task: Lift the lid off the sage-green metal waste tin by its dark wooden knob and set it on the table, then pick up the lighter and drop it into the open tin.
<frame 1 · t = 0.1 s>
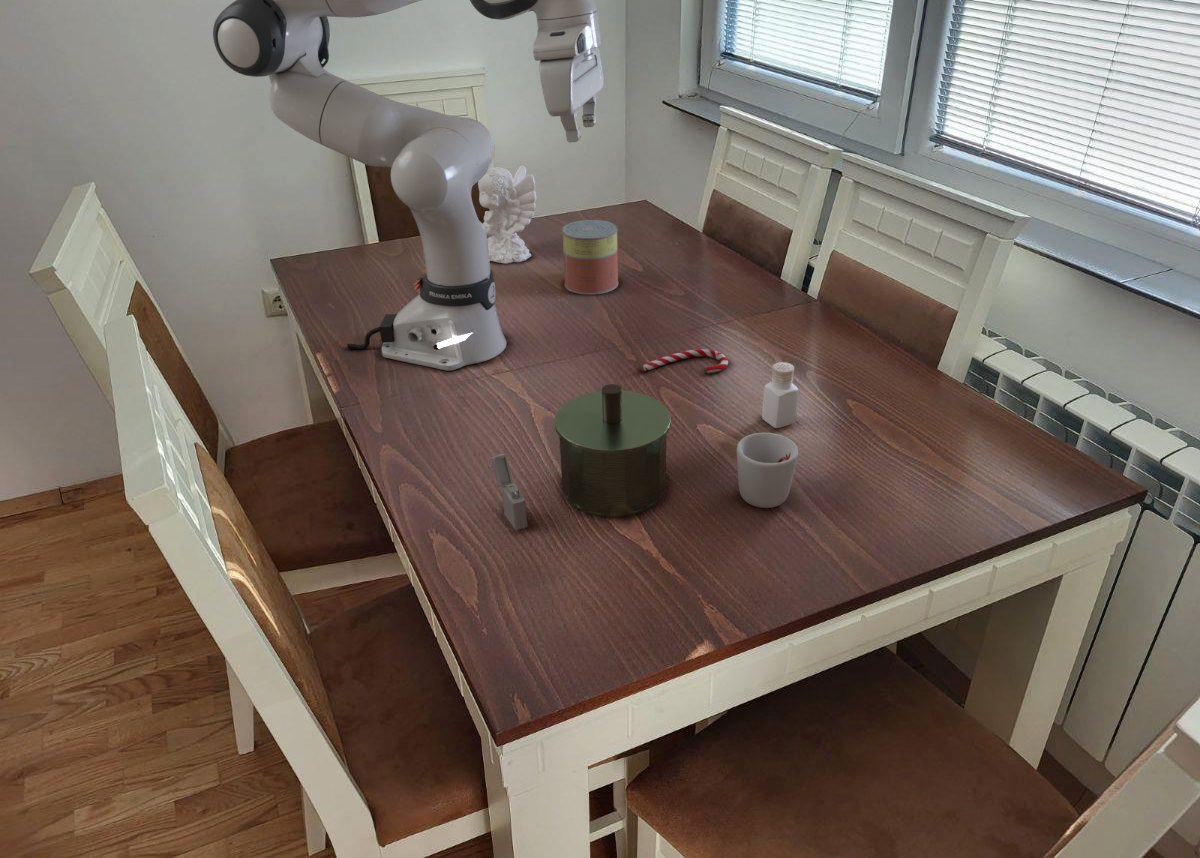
hand: (582, 133, 136), 39 cm above the table, tool pointing down, fingers open, 8 cm apart
tin: (613, 486, 124), on the table
lighter: (511, 515, 119), on the table
candy cane: (684, 368, 153), on the table
pepper shaker: (778, 422, 137), on the table
tin lid: (612, 422, 118), point 10 cm above the table, touching tin
canned food: (591, 284, 186), on the table
cherub figurine: (509, 254, 202), on the table
cup: (760, 492, 122), on the table
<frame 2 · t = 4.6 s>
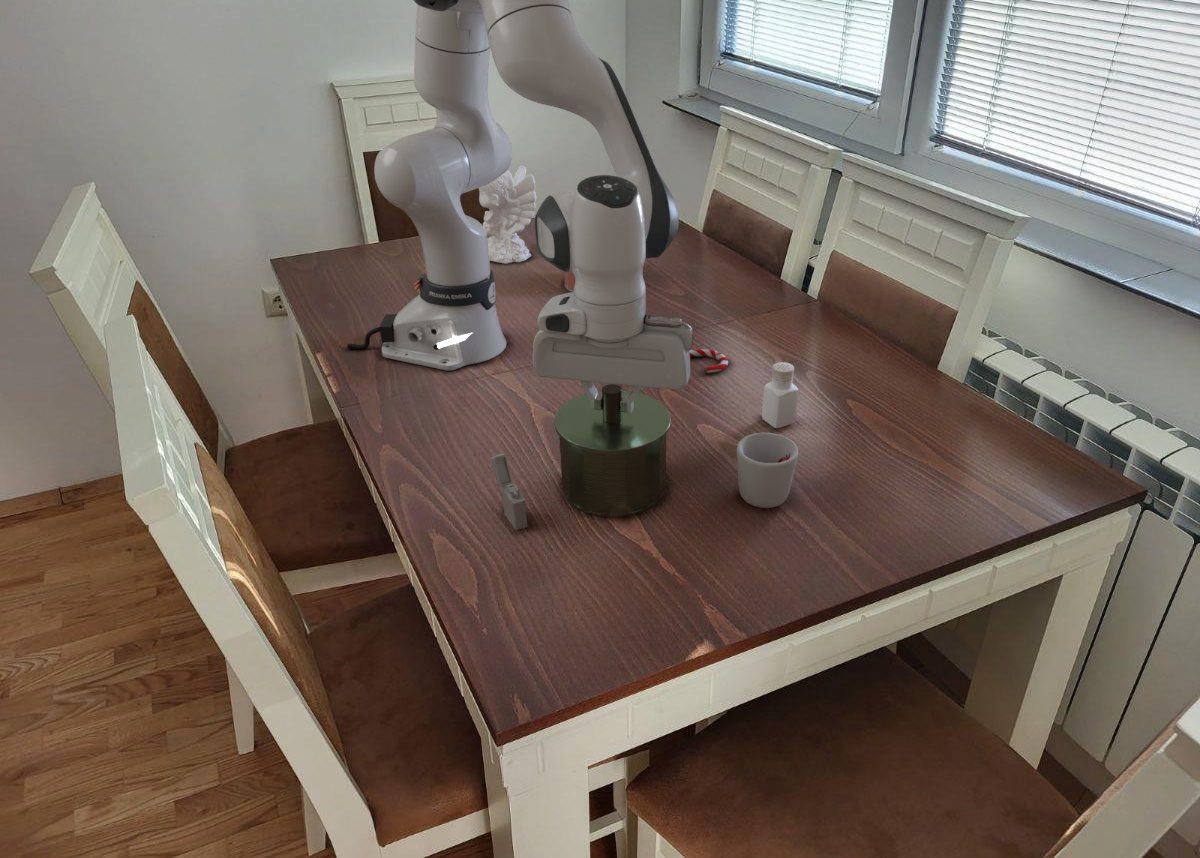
hand: (612, 409, 117), 13 cm above the table, tool pointing down, fingers closed on tin lid, 2 cm apart
tin lid: (612, 422, 118), point 11 cm above the table, touching gripper, tin
everything else where it was.
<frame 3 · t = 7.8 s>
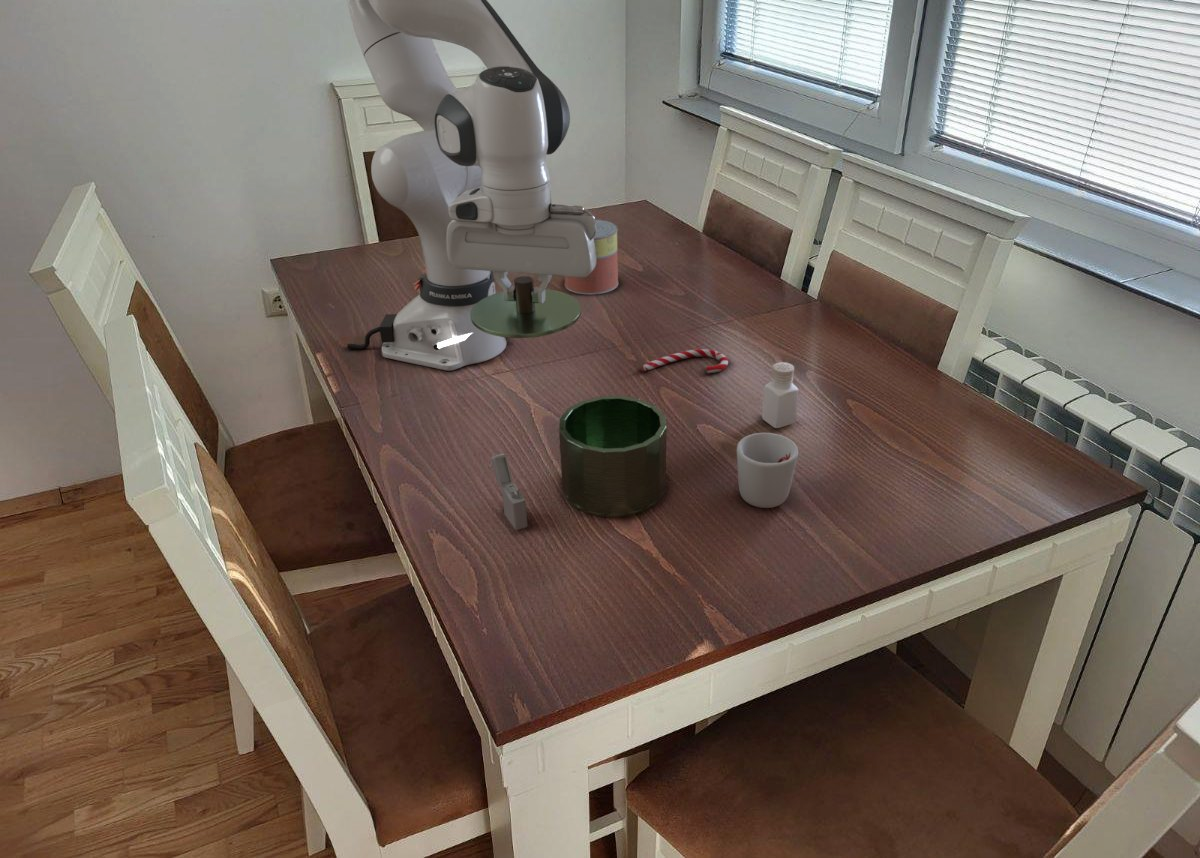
hand: (524, 300, 123), 23 cm above the table, tool pointing down, fingers closed on tin lid, 2 cm apart
tin lid: (526, 313, 124), point 21 cm above the table, touching gripper
everything else where it was.
when the fingers open (2 cm above the table, at t = 10.9 s): tin lid stays where it is, point 1 cm above the table.
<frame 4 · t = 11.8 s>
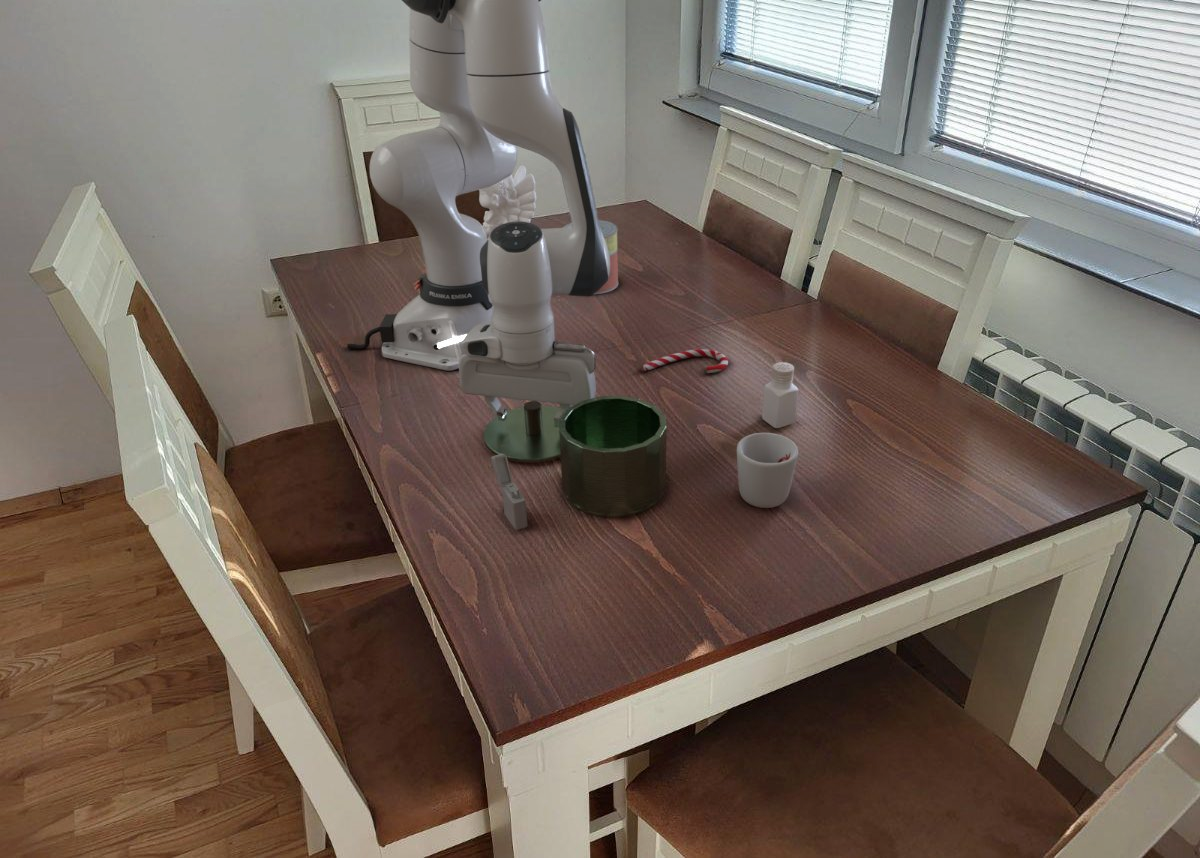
hand: (530, 422, 134), 3 cm above the table, tool pointing down, fingers open, 8 cm apart
tin lid: (534, 434, 135), point 1 cm above the table
everything else where it was.
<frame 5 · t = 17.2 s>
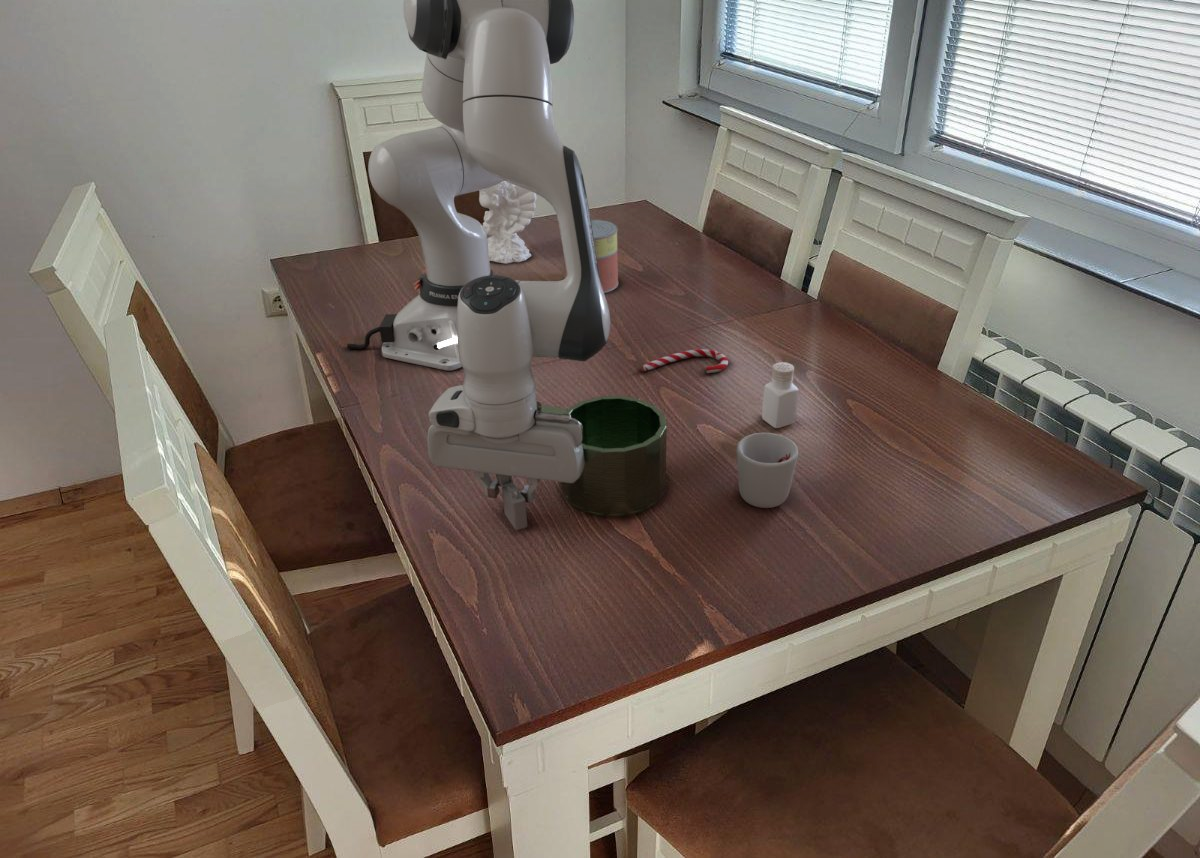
hand: (510, 497, 117), 3 cm above the table, tool pointing down, fingers closed on lighter, 4 cm apart
lighter: (511, 515, 119), on the table, touching gripper
everything else where it was.
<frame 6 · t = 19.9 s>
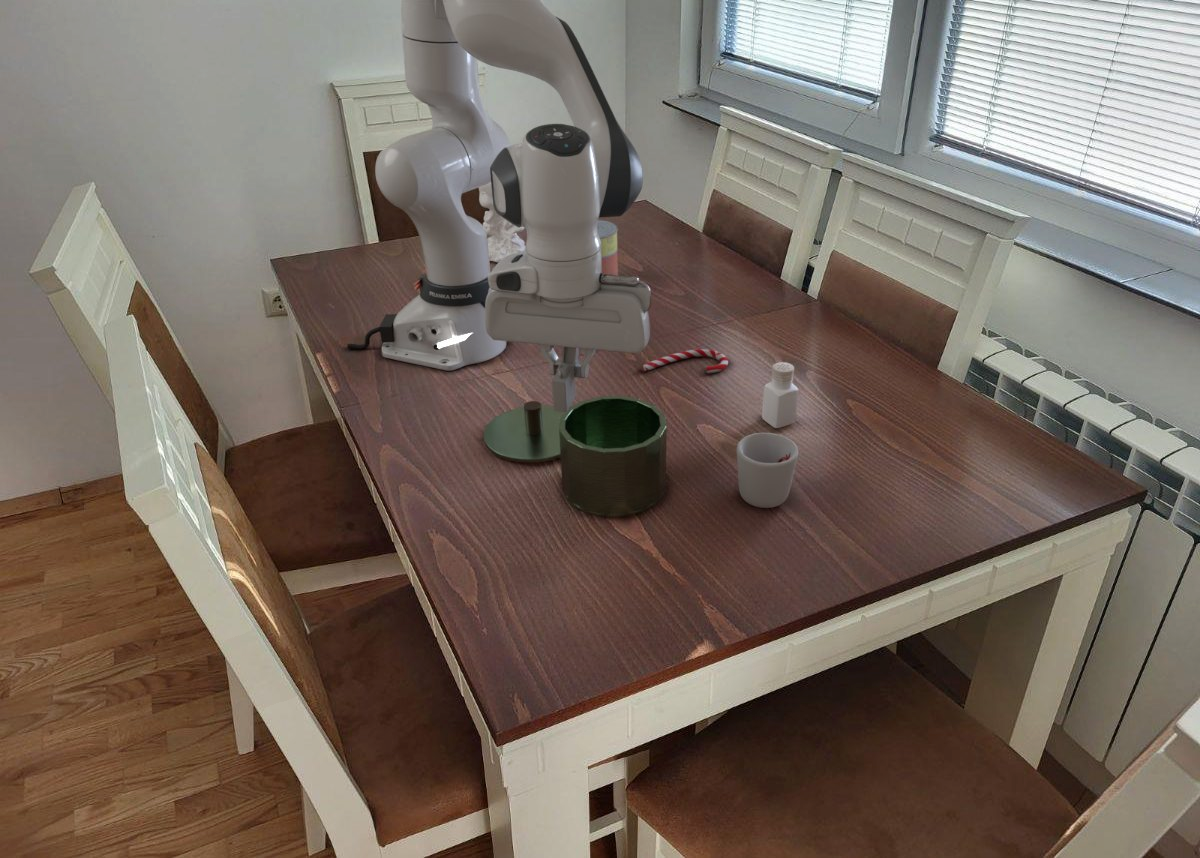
hand: (569, 374, 112), 19 cm above the table, tool pointing down, fingers closed on lighter
lighter: (568, 399, 113), point 16 cm above the table, touching gripper
everything else where it was.
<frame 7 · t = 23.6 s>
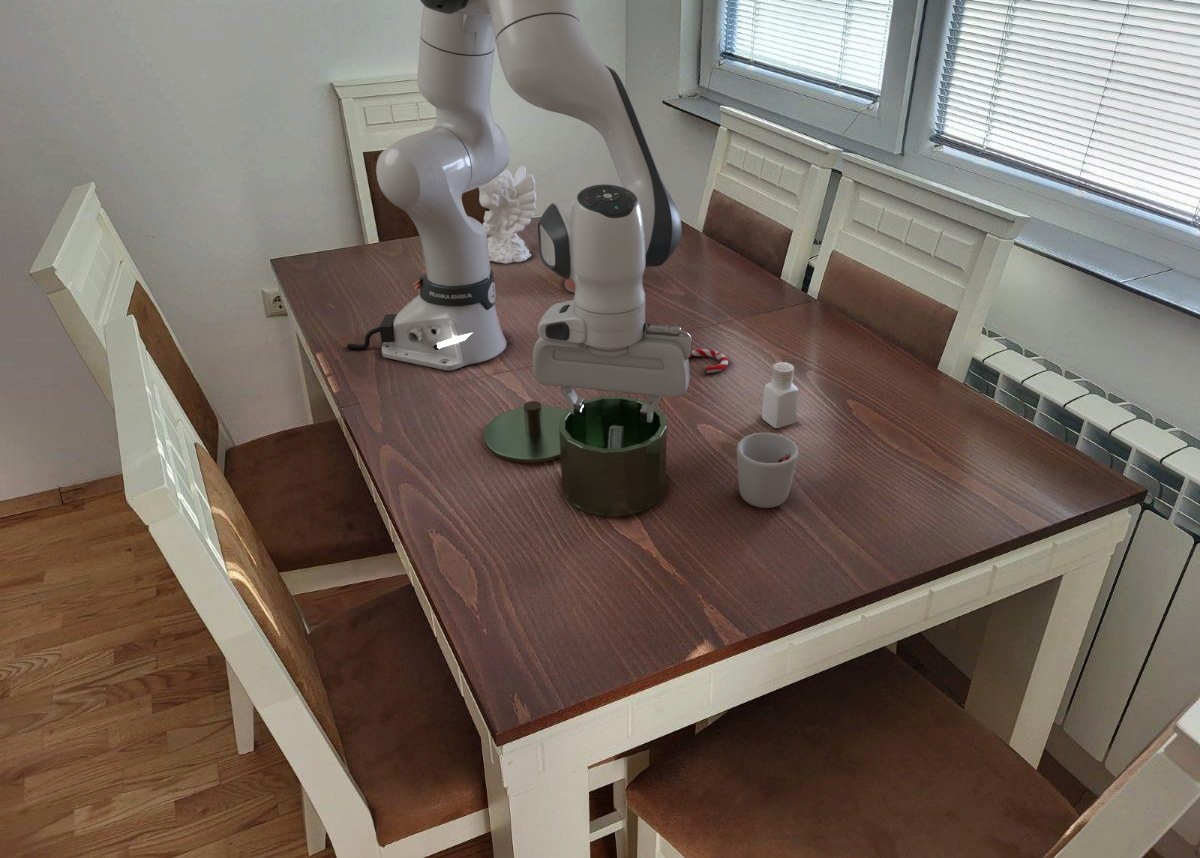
hand: (611, 416, 118), 11 cm above the table, tool pointing down, fingers open, 8 cm apart
lighter: (612, 485, 123), resting on tin
everything else where it was.
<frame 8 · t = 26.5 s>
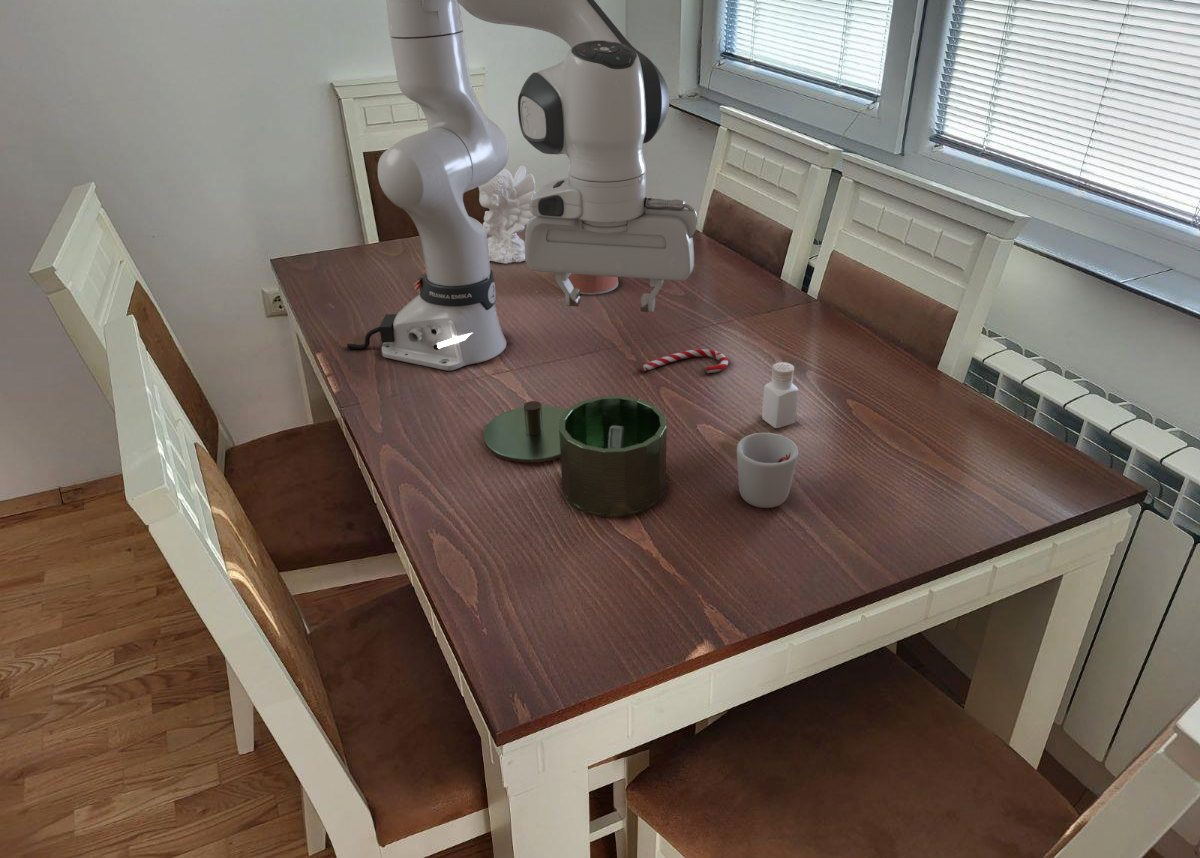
hand: (610, 307, 109), 27 cm above the table, tool pointing down, fingers open, 8 cm apart
nothing on the table moved.
at the end: tin lid point 0.6 cm above the table; lighter inside the target area in the tin (0.2 cm from its centre), point 0.3 cm above the tin's base; the gripper is holding nothing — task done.
